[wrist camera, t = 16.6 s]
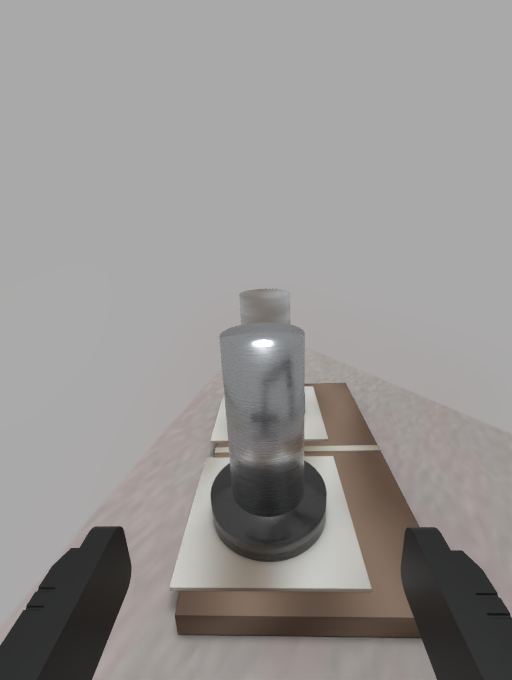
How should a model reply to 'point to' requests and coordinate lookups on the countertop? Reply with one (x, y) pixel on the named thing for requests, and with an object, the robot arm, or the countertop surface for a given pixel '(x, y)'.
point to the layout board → (329, 550)
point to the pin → (266, 447)
